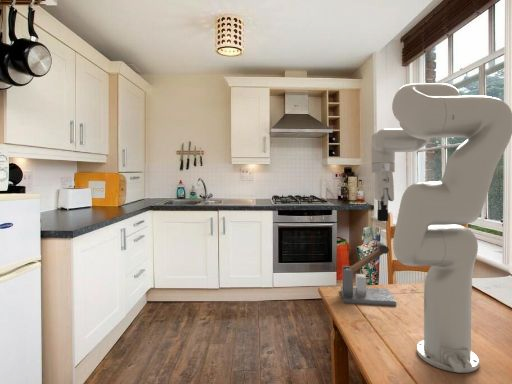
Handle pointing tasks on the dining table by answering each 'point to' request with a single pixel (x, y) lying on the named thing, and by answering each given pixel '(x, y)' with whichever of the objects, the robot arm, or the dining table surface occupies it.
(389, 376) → the dining table surface
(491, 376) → the dining table surface
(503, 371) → the dining table surface
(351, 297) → the base
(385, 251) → the lever
